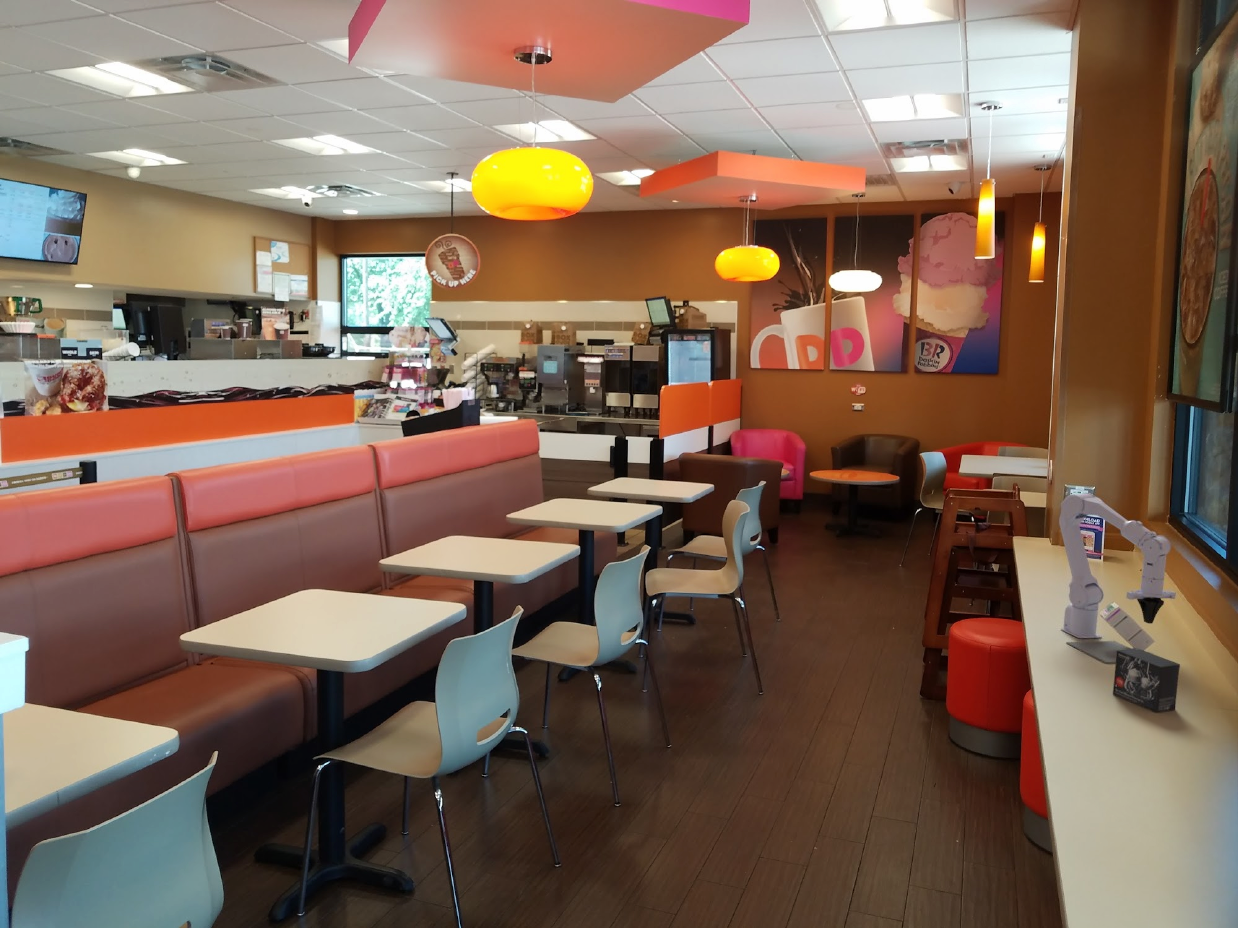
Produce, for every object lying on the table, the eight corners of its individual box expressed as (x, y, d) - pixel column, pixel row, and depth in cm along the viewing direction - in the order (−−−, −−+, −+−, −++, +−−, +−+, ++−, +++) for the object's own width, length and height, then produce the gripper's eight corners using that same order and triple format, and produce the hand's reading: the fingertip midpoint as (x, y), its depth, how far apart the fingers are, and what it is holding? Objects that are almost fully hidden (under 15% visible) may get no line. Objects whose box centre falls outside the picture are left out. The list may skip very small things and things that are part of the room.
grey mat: (1066, 643, 285) (1066, 641, 285) (1114, 642, 287) (1114, 640, 287) (1105, 663, 267) (1105, 661, 267) (1156, 662, 270) (1156, 660, 270)
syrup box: (1155, 641, 276) (1119, 605, 277) (1139, 654, 277) (1103, 618, 278) (1149, 635, 281) (1113, 600, 282) (1133, 648, 283) (1097, 613, 284)
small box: (1111, 694, 243) (1115, 649, 242) (1130, 691, 246) (1135, 647, 244) (1156, 713, 231) (1160, 666, 229) (1176, 710, 233) (1181, 663, 232)
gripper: (1140, 581, 271) (1135, 626, 273) (1185, 580, 274) (1180, 625, 275) (1123, 575, 278) (1119, 619, 280) (1167, 574, 281) (1162, 618, 282)
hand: (1148, 622), depth 278 cm, fingers closed
